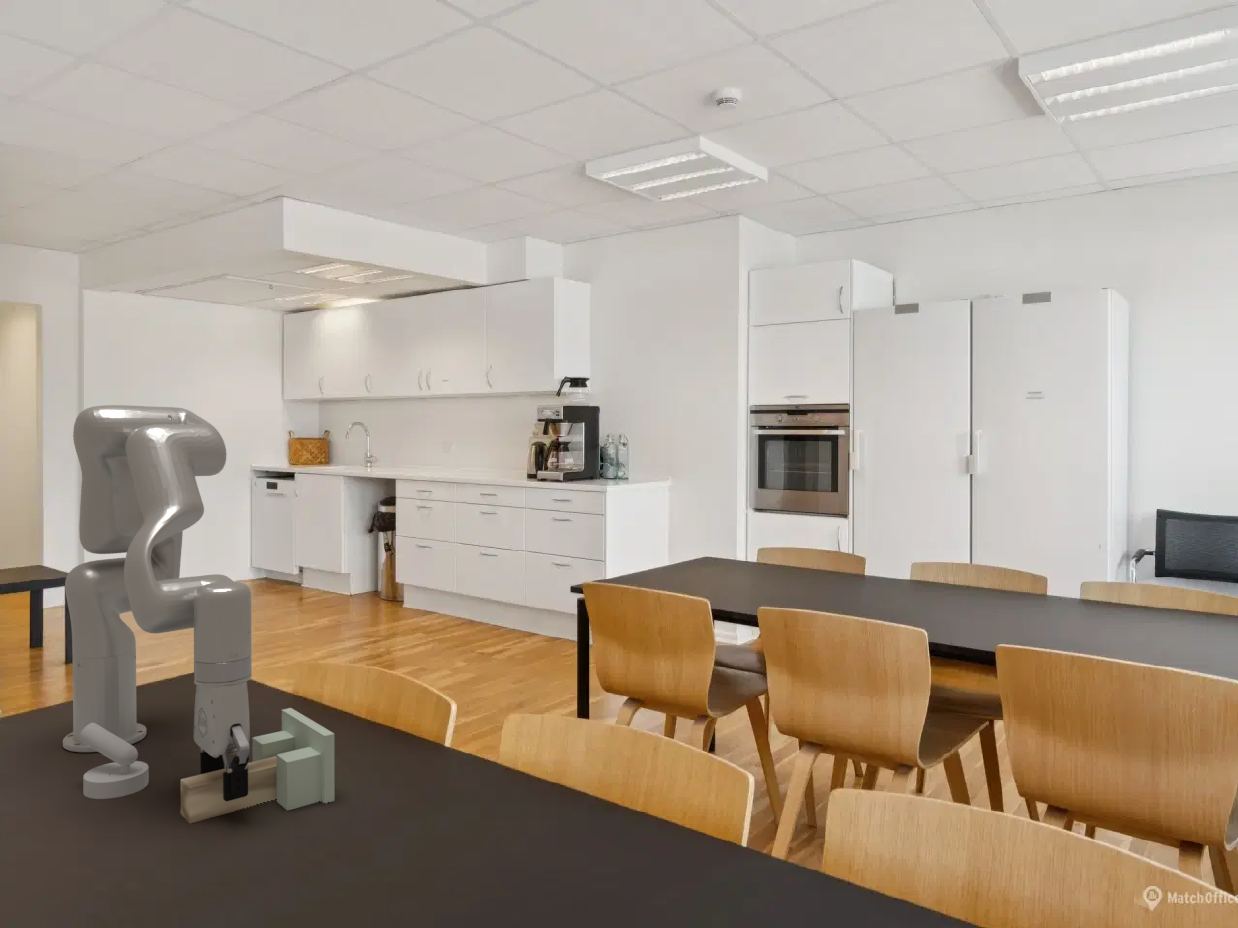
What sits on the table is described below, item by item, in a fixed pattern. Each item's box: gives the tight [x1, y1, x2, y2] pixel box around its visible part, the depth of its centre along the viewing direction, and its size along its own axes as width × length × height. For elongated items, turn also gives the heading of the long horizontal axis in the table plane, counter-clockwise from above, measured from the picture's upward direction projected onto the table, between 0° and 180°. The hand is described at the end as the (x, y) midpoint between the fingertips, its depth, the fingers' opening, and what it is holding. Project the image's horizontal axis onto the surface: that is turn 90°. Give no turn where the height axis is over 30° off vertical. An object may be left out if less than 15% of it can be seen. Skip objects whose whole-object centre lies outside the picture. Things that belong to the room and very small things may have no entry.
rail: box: [180, 756, 277, 824], centre depth 128 cm, size 4×16×5 cm, turn 133°
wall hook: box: [79, 723, 150, 800], centre depth 133 cm, size 9×10×10 cm
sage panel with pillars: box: [251, 707, 336, 812], centre depth 132 cm, size 16×6×10 cm, turn 43°
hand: (223, 787), depth 126 cm, fingers open, 9 cm apart
